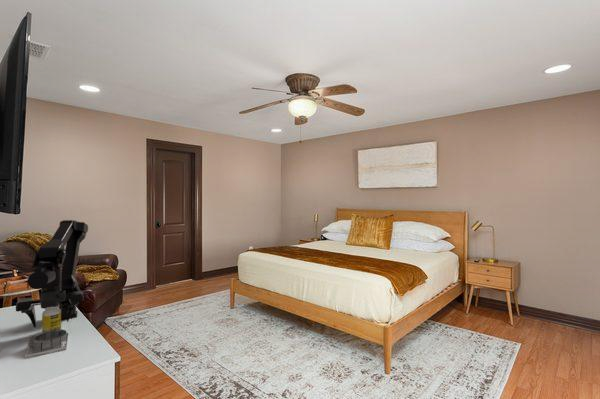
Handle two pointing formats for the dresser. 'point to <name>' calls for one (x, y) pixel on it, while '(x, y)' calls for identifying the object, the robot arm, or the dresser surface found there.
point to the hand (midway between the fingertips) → (51, 324)
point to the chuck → (47, 342)
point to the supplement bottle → (51, 319)
